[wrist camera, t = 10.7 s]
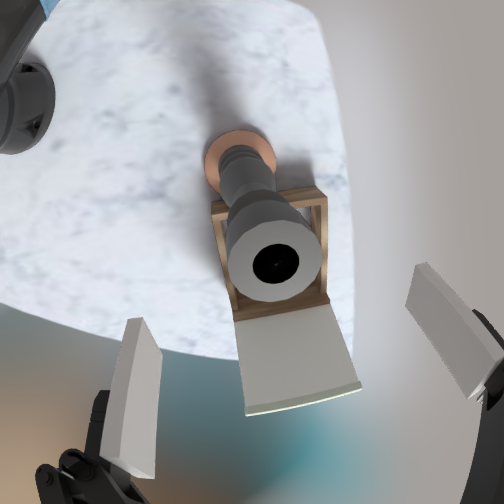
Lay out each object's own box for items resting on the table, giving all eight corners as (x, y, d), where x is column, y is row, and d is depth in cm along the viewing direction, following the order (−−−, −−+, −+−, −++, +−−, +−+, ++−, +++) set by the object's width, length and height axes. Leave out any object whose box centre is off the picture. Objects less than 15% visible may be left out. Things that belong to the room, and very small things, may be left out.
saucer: (199, 136, 36) (198, 137, 35) (270, 125, 37) (272, 126, 35) (211, 202, 41) (211, 205, 40) (277, 191, 42) (279, 194, 41)
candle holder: (226, 192, 40) (242, 316, 18) (211, 153, 36) (206, 237, 15) (268, 178, 39) (332, 286, 18) (255, 138, 36) (315, 200, 15)
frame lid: (232, 321, 44) (241, 404, 31) (330, 302, 45) (366, 375, 32) (236, 338, 47) (246, 417, 33) (329, 319, 47) (361, 391, 34)
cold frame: (211, 202, 41) (210, 239, 31) (315, 186, 42) (347, 217, 32) (237, 321, 54) (243, 371, 44) (316, 306, 55) (336, 352, 44)
